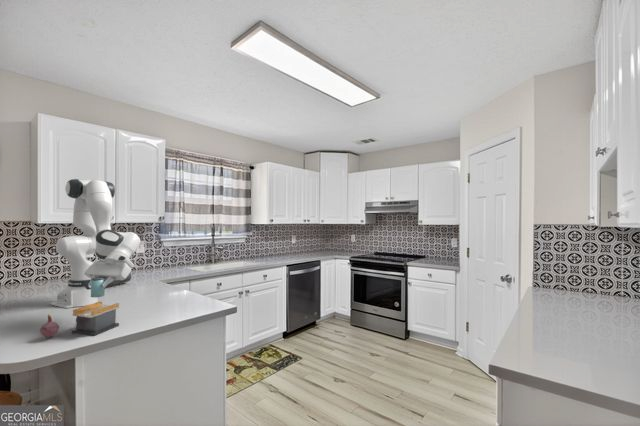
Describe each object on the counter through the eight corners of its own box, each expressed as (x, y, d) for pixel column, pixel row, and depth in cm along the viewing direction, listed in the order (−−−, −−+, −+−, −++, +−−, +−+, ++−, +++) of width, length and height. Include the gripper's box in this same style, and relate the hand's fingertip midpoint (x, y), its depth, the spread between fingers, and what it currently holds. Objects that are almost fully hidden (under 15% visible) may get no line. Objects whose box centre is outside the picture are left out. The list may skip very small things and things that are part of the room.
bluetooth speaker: (122, 282, 221) (123, 269, 222) (131, 283, 218) (132, 270, 218) (90, 289, 200) (90, 274, 200) (99, 290, 197) (100, 275, 197)
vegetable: (48, 335, 126) (48, 311, 126) (63, 335, 126) (63, 311, 127) (35, 341, 120) (35, 316, 120) (51, 341, 120) (51, 316, 120)
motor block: (65, 333, 128) (65, 309, 128) (94, 322, 142) (95, 300, 142) (93, 336, 126) (93, 312, 126) (120, 324, 139) (121, 303, 140)
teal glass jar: (87, 296, 132) (88, 279, 132) (98, 294, 137) (98, 276, 137) (97, 297, 131) (97, 279, 131) (107, 294, 136) (107, 277, 136)
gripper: (93, 256, 143) (72, 280, 133) (130, 258, 139) (111, 283, 129) (101, 263, 147) (81, 288, 137) (137, 266, 143) (119, 291, 134)
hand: (96, 286), depth 133 cm, fingers closed on teal glass jar, 5 cm apart
